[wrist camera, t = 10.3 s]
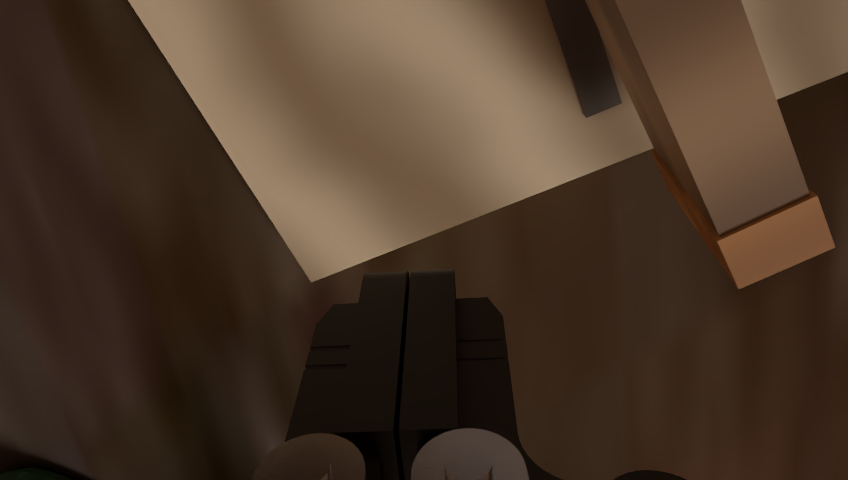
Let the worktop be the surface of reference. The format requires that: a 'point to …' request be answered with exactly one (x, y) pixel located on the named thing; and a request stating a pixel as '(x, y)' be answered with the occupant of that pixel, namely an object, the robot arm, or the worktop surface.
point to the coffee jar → (31, 475)
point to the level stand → (428, 104)
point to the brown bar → (716, 130)
